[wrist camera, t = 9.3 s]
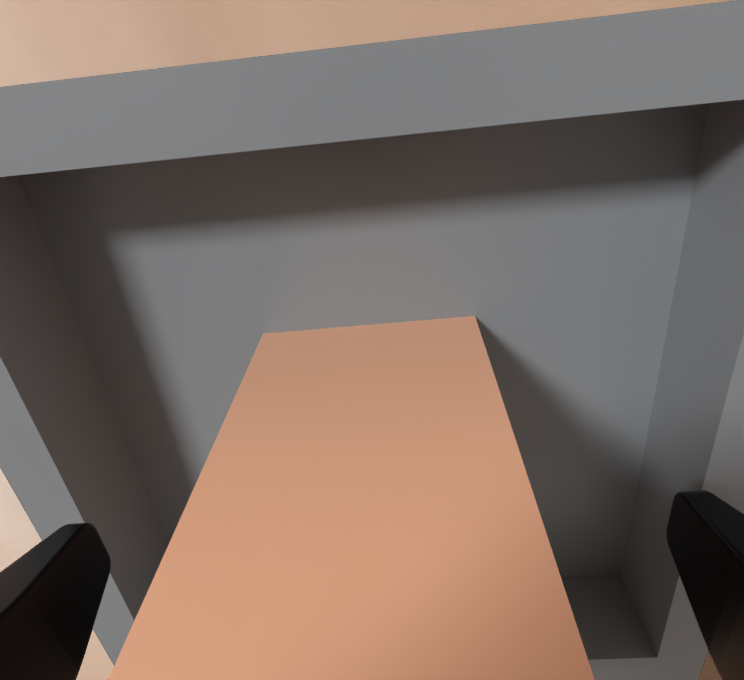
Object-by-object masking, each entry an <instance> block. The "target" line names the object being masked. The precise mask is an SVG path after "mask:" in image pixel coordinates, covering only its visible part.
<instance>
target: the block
mask: <svg viewBox="0 0 744 680" xmlns="http://www.w3.org/2000/svg"><path fill="white" fill-rule="evenodd" d="M108 680H595V679H594V676H593V673H592V670H591V667H590V664H589V661H588V658H587V655H586V652H585V649H584V646H583V643H582V640H581V637H580V634H579V631H578V628H577V625H576V622H575V619H574V616H573V612H572V609H571V606H570V603H569V600H568V597H567V594H566V591H565V588H564V585H563V582H562V579H561V576H560V573H559V570H558V567H557V564H556V561H555V558H554V555H553V552H552V549H551V546H550V543H549V539H548V536H547V533H546V530H545V527H544V524H543V521H542V518H541V515H540V512H539V509H538V506H537V503H536V500H535V497H534V494H533V491H532V488H531V485H530V482H529V479H528V476H527V473H526V470H525V466H524V463H523V460H522V457H521V454H520V451H519V448H518V445H517V442H516V439H515V436H514V433H513V430H512V427H511V424H510V421H509V418H508V415H507V412H506V409H505V406H504V403H503V400H502V397H501V393H500V390H499V387H498V384H497V381H496V378H495V375H494V372H493V369H492V366H491V363H490V360H489V357H488V354H487V351H486V348H485V345H484V342H483V339H482V336H481V333H480V330H479V327H478V324H477V320H476V317H475V316H468V317H456V318H444V319H432V320H420V321H408V322H396V323H384V324H372V325H360V326H348V327H336V328H324V329H312V330H300V331H288V332H276V333H264V334H263V335H262V337H261V339H260V341H259V344H258V346H257V348H256V350H255V353H254V355H253V357H252V359H251V362H250V364H249V366H248V368H247V371H246V373H245V375H244V377H243V379H242V382H241V384H240V386H239V388H238V391H237V393H236V395H235V397H234V400H233V402H232V404H231V406H230V408H229V411H228V413H227V415H226V417H225V420H224V422H223V424H222V426H221V429H220V431H219V433H218V435H217V437H216V440H215V442H214V444H213V446H212V449H211V451H210V453H209V455H208V458H207V460H206V462H205V464H204V467H203V469H202V471H201V473H200V475H199V478H198V480H197V482H196V484H195V487H194V489H193V491H192V493H191V496H190V498H189V500H188V502H187V504H186V507H185V509H184V511H183V513H182V516H181V518H180V520H179V522H178V525H177V527H176V529H175V531H174V534H173V536H172V538H171V540H170V542H169V545H168V547H167V549H166V551H165V554H164V556H163V558H162V560H161V563H160V565H159V567H158V569H157V571H156V574H155V576H154V578H153V580H152V583H151V585H150V587H149V589H148V592H147V594H146V596H145V598H144V601H143V603H142V605H141V607H140V609H139V612H138V614H137V616H136V618H135V621H134V623H133V625H132V627H131V630H130V632H129V634H128V636H127V638H126V641H125V643H124V645H123V647H122V650H121V652H120V654H119V656H118V659H117V661H116V663H115V665H114V668H113V670H112V672H111V674H110V676H109V679H108Z"/></svg>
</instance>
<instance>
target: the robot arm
mask: <svg viewBox="0 0 744 680" xmlns="http://www.w3.org/2000/svg"><path fill="white" fill-rule="evenodd" d="M666 538H667V543H668V546H669V549H670V552H671V555H672V557H673V560H674V562H675V565H676V568H677V570H678V573H679V576H680V578H681V581H682V583H683V586H684V589H685V591H686V594H687V597H688V599H689V602H690V604H691V607H692V610H693V612H694V615H695V618H696V620H697V623H698V625H699V628H700V631H701V633H702V636H703V638H704V641H705V643H706V646H707V648H708V650H709V653H710V655H711V657H712V659H713V661H714V663H715V665H716V667H717V670H718V672H719V674H720V676H721V678H722V680H744V514H743V513H742V512H740V511H739V510H737V509H736V508H734V507H733V506H731V505H730V504H728V503H727V502H725V501H724V500H722V499H721V498H719V497H717V496H716V495H714V494H713V493H711V492H709V491H706V490H690V491H679V492H677V493H676V494H675V496H674V498H673V502H672V506H671V511H670V515H669V519H668V524H667V528H666ZM110 569H111V559H110V555H109V553H108V551H107V549H106V547H105V545H104V543H103V541H102V539H101V537H100V535H99V533H98V531H97V529H96V527H95V526H94V525H92V524H91V523H76V524H67V525H64V526H62V527H60V528H59V529H58V530H56V531H55V532H54V533H52V534H51V535H50V536H48V537H47V538H46V539H44V540H43V541H42V542H40V543H39V544H38V545H36V546H35V547H34V548H32V549H31V550H30V551H28V552H27V553H26V554H24V555H23V556H21V557H20V558H19V559H17V560H16V561H15V562H13V563H12V564H11V565H9V566H8V567H7V568H5V569H4V570H3V571H1V572H0V680H76V677H77V675H78V672H79V670H80V667H81V664H82V661H83V658H84V655H85V652H86V649H87V645H88V642H89V639H90V636H91V632H92V629H93V626H94V623H95V619H96V616H97V613H98V610H99V607H100V603H101V600H102V597H103V594H104V590H105V587H106V584H107V581H108V577H109V574H110Z"/></svg>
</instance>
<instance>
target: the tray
mask: <svg viewBox="0 0 744 680" xmlns="http://www.w3.org/2000/svg"><path fill="white" fill-rule="evenodd" d="M468 316H475V317H476V320H477V324H478V327H479V330H480V333H481V336H482V339H483V342H484V345H485V348H486V351H487V354H488V357H489V360H490V363H491V366H492V369H493V372H494V375H495V378H496V381H497V384H498V387H499V390H500V393H501V397H502V400H503V403H504V406H505V409H506V412H507V415H508V418H509V421H510V424H511V427H512V430H513V433H514V436H515V439H516V442H517V445H518V448H519V451H520V454H521V457H522V460H523V463H524V466H525V470H526V473H527V476H528V479H529V482H530V485H531V488H532V491H533V494H534V497H535V500H536V503H537V506H538V509H539V512H540V515H541V518H542V521H543V524H544V527H545V530H546V533H547V536H548V539H549V543H550V546H551V549H552V552H553V555H554V558H555V561H556V564H557V567H558V570H559V573H560V576H561V579H562V582H563V585H564V588H565V591H566V594H567V597H568V600H569V603H570V606H571V609H572V612H573V616H574V619H575V622H576V625H577V628H578V631H579V634H580V637H581V640H582V643H583V646H584V649H585V652H586V655H587V658H588V661H589V664H590V667H591V670H592V673H593V676H594V679H595V680H698V679H699V676H700V673H701V670H702V667H703V664H704V661H705V658H706V655H707V652H708V648H707V646H706V643H705V641H704V638H703V636H702V633H701V631H700V628H699V625H698V623H697V620H696V618H695V615H694V612H693V610H692V607H691V604H690V602H689V599H688V597H687V594H686V591H685V589H684V586H683V583H682V581H681V578H680V576H679V573H678V570H677V568H676V565H675V562H674V560H673V557H672V555H671V552H670V549H669V546H668V543H667V538H666V528H667V524H668V519H669V515H670V511H671V506H672V502H673V498H674V496H675V494H676V493H677V492H679V491H690V490H706V491H709V492H711V493H713V494H714V495H716V496H717V497H719V498H721V499H722V500H724V501H725V502H727V503H728V504H730V505H731V506H733V507H734V508H736V509H737V510H739V511H740V512H742V513H743V514H744V0H736V1H728V2H719V3H711V4H702V5H694V6H685V7H677V8H668V9H660V10H651V11H643V12H634V13H626V14H617V15H609V16H600V17H592V18H583V19H575V20H566V21H558V22H549V23H541V24H532V25H524V26H515V27H507V28H498V29H490V30H481V31H473V32H464V33H456V34H447V35H439V36H430V37H422V38H413V39H405V40H396V41H388V42H379V43H371V44H362V45H354V46H345V47H337V48H328V49H320V50H311V51H303V52H294V53H286V54H277V55H269V56H260V57H252V58H243V59H235V60H226V61H218V62H209V63H201V64H192V65H184V66H175V67H167V68H158V69H150V70H141V71H133V72H124V73H116V74H107V75H99V76H90V77H82V78H73V79H65V80H56V81H48V82H39V83H31V84H22V85H14V86H5V87H0V468H1V470H2V472H3V473H4V475H5V477H6V479H7V480H8V482H9V484H10V485H11V487H12V489H13V491H14V492H15V494H16V496H17V498H18V499H19V501H20V503H21V505H22V506H23V508H24V510H25V512H26V513H27V515H28V517H29V519H30V520H31V522H32V524H33V525H34V527H35V529H36V531H37V532H38V534H39V536H40V538H41V539H42V541H43V540H44V539H46V538H47V537H48V536H50V535H51V534H52V533H54V532H55V531H56V530H58V529H59V528H60V527H62V526H64V525H67V524H76V523H91V524H92V525H94V526H95V527H96V529H97V531H98V533H99V535H100V537H101V539H102V541H103V543H104V545H105V547H106V549H107V551H108V553H109V555H110V559H111V569H110V574H109V577H108V581H107V584H106V587H105V590H104V594H103V597H102V600H101V603H100V607H99V610H98V613H97V616H96V619H95V623H94V626H93V630H94V632H95V633H96V635H97V637H98V639H99V640H100V642H101V644H102V646H103V647H104V649H105V651H106V653H107V654H108V656H109V658H110V659H111V661H112V663H113V665H115V663H116V661H117V659H118V656H119V654H120V652H121V650H122V647H123V645H124V643H125V641H126V638H127V636H128V634H129V632H130V630H131V627H132V625H133V623H134V621H135V618H136V616H137V614H138V612H139V609H140V607H141V605H142V603H143V601H144V598H145V596H146V594H147V592H148V589H149V587H150V585H151V583H152V580H153V578H154V576H155V574H156V571H157V569H158V567H159V565H160V563H161V560H162V558H163V556H164V554H165V551H166V549H167V547H168V545H169V542H170V540H171V538H172V536H173V534H174V531H175V529H176V527H177V525H178V522H179V520H180V518H181V516H182V513H183V511H184V509H185V507H186V504H187V502H188V500H189V498H190V496H191V493H192V491H193V489H194V487H195V484H196V482H197V480H198V478H199V475H200V473H201V471H202V469H203V467H204V464H205V462H206V460H207V458H208V455H209V453H210V451H211V449H212V446H213V444H214V442H215V440H216V437H217V435H218V433H219V431H220V429H221V426H222V424H223V422H224V420H225V417H226V415H227V413H228V411H229V408H230V406H231V404H232V402H233V400H234V397H235V395H236V393H237V391H238V388H239V386H240V384H241V382H242V379H243V377H244V375H245V373H246V371H247V368H248V366H249V364H250V362H251V359H252V357H253V355H254V353H255V350H256V348H257V346H258V344H259V341H260V339H261V337H262V335H263V334H264V333H276V332H288V331H300V330H312V329H324V328H336V327H348V326H360V325H372V324H384V323H396V322H408V321H420V320H432V319H444V318H456V317H468Z"/></svg>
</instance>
